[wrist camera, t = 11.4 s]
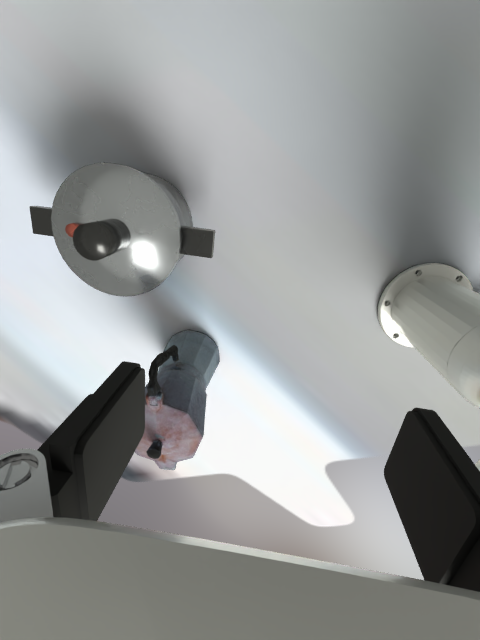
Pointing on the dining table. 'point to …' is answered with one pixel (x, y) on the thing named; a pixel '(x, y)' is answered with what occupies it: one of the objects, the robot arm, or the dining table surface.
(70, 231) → the lid
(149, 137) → the dining table surface
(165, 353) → the moka pot
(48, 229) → the cooker pot
